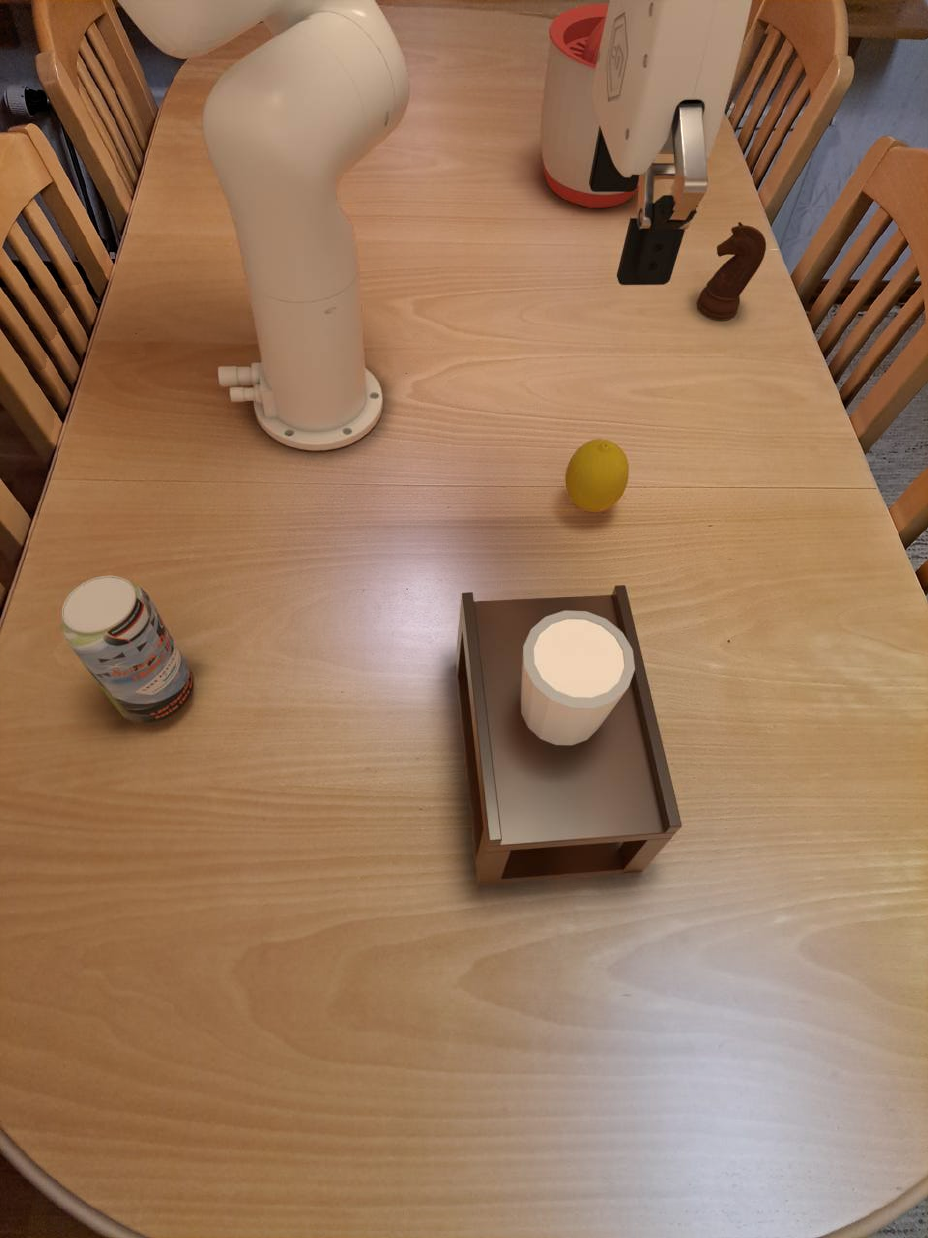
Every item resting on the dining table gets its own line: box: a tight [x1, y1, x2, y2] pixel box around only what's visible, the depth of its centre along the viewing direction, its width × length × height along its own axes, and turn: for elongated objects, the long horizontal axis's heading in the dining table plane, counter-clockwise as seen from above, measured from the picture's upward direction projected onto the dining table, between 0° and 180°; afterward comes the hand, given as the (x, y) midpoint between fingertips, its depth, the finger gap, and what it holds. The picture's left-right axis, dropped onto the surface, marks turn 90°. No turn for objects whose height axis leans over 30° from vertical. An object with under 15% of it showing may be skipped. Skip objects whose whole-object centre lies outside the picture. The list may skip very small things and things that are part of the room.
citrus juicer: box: [539, 3, 655, 209], centre depth 97 cm, size 16×17×20 cm
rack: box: [454, 584, 683, 886], centre depth 59 cm, size 12×18×10 cm, turn 5°
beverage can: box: [61, 575, 195, 724], centre depth 60 cm, size 6×7×12 cm
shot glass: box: [521, 611, 635, 745], centre depth 53 cm, size 7×7×7 cm
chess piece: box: [696, 221, 767, 321], centre depth 90 cm, size 5×5×10 cm
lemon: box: [564, 438, 630, 513], centre depth 74 cm, size 6×6×8 cm
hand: (626, 233), depth 53 cm, fingers open, 9 cm apart
